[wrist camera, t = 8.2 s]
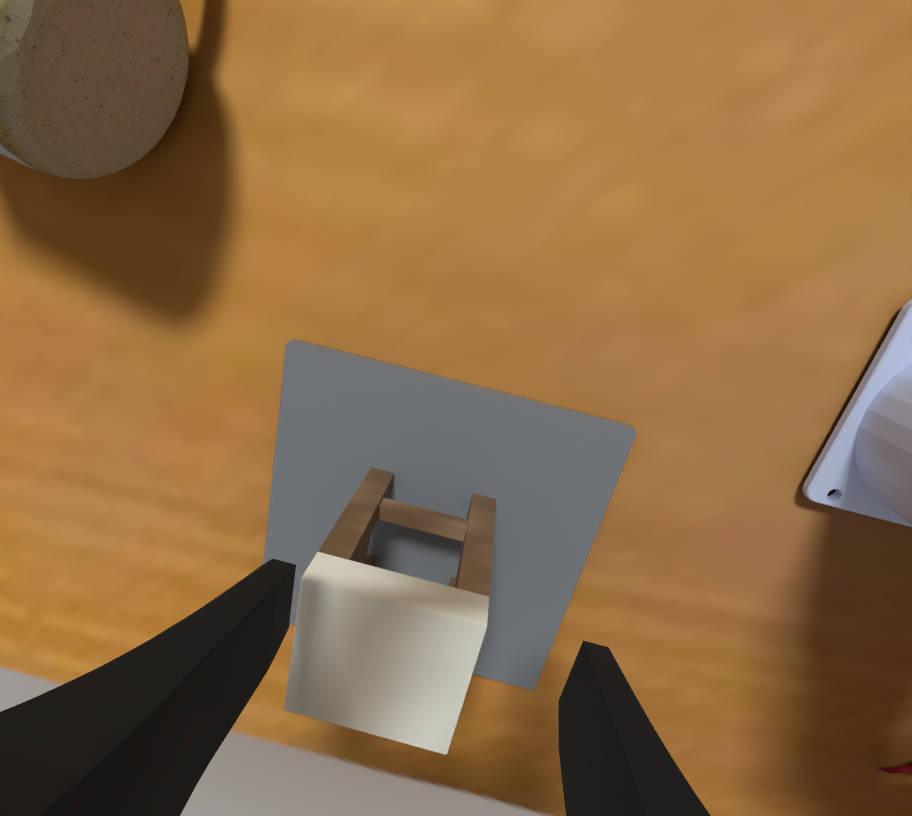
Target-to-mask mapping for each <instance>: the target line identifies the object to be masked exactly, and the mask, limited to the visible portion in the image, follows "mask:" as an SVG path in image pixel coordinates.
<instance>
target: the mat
mask: <svg viewBox="0 0 912 816" xmlns="http://www.w3.org/2000/svg"><path fill="white" fill-rule="evenodd" d="M635 436H636V431H635V430H634V428H633V427H632V426H631V425H628V424H624V423H620V422H616V421H612V420H608V419H604V418H600V417H596V416H592V415H589V414H585V413H581V412H577V411H573V410H569V409H565V408H561V407H557V406H553V405H550V404H546V403H542V402H538V401H534V400H530V399H526V398H522V397H518V396H514V395H511V394H507V393H503V392H499V391H495V390H491V389H487V388H483V387H479V386H475V385H472V384H468V383H464V382H460V381H456V380H452V379H448V378H444V377H440V376H436V375H432V374H429V373H425V372H421V371H417V370H413V369H409V368H405V367H401V366H397V365H393V364H390V363H386V362H382V361H378V360H374V359H370V358H366V357H362V356H358V355H354V354H351V353H347V352H343V351H339V350H335V349H331V348H327V347H323V346H319V345H315V344H312V343H308V342H304V341H300V340H296V339H295V340H292V341H290V342H288V343H286V351H285V360H284V370H283V380H282V389H281V399H280V409H279V418H278V428H277V437H276V447H275V457H274V466H273V476H272V486H271V495H270V505H269V515H268V524H267V534H266V543H265V553H264V563H263V564H265V563H266V562H267V561H269V560H271V559H276V560H280V561H284V562H288V563H291V564H295V565H296V571H295V579H294V588H293V597H292V605H291V614H290V622H289V623H290V624H294V625H295V622H296V614H297V606H298V598H299V591H300V583H301V577H302V576H303V574H304V572H305V571H306V569H307V568H308V566H309V565H310V563H311V561H312V560H313V558H314V557H315V555H316V554H317V552H318V550H319V549H320V547H321V546H322V544H323V543H324V541H325V539H326V538H327V536H328V535H329V533H330V532H331V530H332V528H333V527H334V525H335V524H336V522H337V521H338V519H339V517H340V516H341V514H342V513H343V511H344V509H345V508H346V506H347V505H348V503H349V502H350V500H351V498H352V497H353V495H354V494H355V492H356V491H357V489H358V487H359V486H360V484H361V483H362V481H363V480H364V478H365V476H366V475H367V473H368V472H369V470H370V469H371V467H373V468H376V469H380V470H384V471H388V472H392V473H394V477H393V482H392V487H391V492H390V495H389V497H388V499H391V500H394V501H398V502H402V503H406V504H410V505H414V506H418V507H422V508H425V509H429V510H433V511H437V512H441V513H445V514H449V515H453V516H457V517H460V518H464V519H467V513H468V509H469V506H470V502H471V498H472V494H473V493H474V494H478V495H482V496H486V497H490V498H494V499H496V508H495V522H494V537H493V551H492V565H491V579H490V593H489V607H488V621H487V629H486V632H485V635H484V638H483V642H482V645H481V648H480V651H479V654H478V657H477V661H476V664H475V667H474V670H473V673H472V674H475V675H478V676H482V677H486V678H489V679H493V680H496V681H500V682H504V683H507V684H511V685H515V686H518V687H522V688H525V689H529V690H533V691H534V689H535V686H536V684H537V681H538V679H539V676H540V674H541V671H542V669H543V666H544V664H545V661H546V659H547V656H548V654H549V651H550V649H551V646H552V644H553V641H554V639H555V636H556V634H557V631H558V629H559V626H560V624H561V621H562V619H563V616H564V614H565V611H566V609H567V606H568V604H569V601H570V599H571V596H572V594H573V591H574V589H575V586H576V584H577V581H578V579H579V576H580V574H581V571H582V569H583V566H584V564H585V561H586V559H587V556H588V554H589V551H590V549H591V546H592V544H593V541H594V539H595V536H596V534H597V531H598V529H599V526H600V524H601V521H602V519H603V516H604V514H605V511H606V509H607V506H608V504H609V501H610V498H611V496H612V493H613V491H614V488H615V486H616V483H617V481H618V478H619V476H620V473H621V471H622V468H623V466H624V463H625V461H626V458H627V456H628V453H629V451H630V448H631V446H632V443H633V441H634V438H635ZM462 542H463V541H460V540H456V539H452V538H448V537H444V536H440V535H437V534H433V533H429V532H425V531H421V530H417V529H413V528H409V527H406V526H402V525H398V524H394V523H390V522H386V521H382V520H379V519H377V521H376V523H375V525H374V527H373V529H372V531H371V537H370V542H369V547H368V553H367V555H371V556H375V557H378V558H377V564H376V567H378V568H382V569H385V570H389V571H393V572H397V573H401V574H404V575H408V576H412V577H416V578H420V579H423V580H427V581H431V582H435V583H439V584H442V585H446V586H448V584H449V580H450V577H455V578H456V577H457V571H458V565H459V559H460V554H461V548H462Z"/></svg>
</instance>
